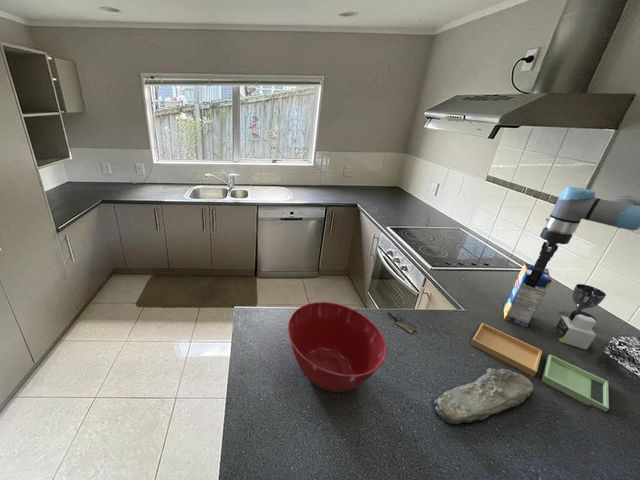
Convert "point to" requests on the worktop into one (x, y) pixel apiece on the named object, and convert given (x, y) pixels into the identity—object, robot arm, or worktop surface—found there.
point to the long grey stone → (483, 396)
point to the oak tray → (507, 349)
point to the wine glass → (586, 297)
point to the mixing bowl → (335, 345)
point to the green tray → (573, 381)
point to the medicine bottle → (576, 329)
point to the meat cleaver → (401, 323)
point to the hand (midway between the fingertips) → (532, 279)
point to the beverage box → (525, 297)
